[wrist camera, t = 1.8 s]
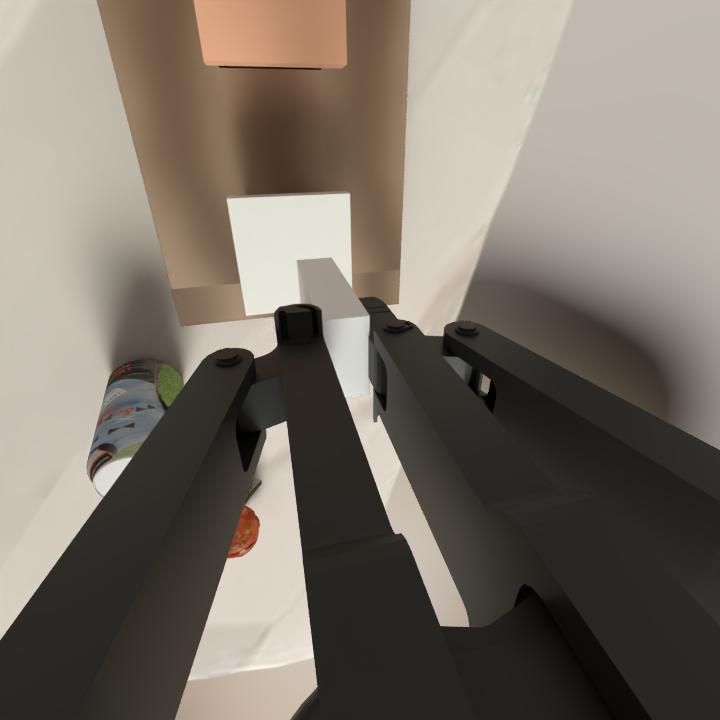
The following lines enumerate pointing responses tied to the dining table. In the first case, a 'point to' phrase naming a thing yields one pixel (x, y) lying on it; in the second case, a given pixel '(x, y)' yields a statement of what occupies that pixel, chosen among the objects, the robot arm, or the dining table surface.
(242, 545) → the red round fruit
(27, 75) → the dining table surface
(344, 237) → the white block
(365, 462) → the robot arm
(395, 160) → the brown boxy piece
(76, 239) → the dining table surface
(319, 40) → the terracotta key
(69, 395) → the dining table surface
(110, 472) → the beverage can
